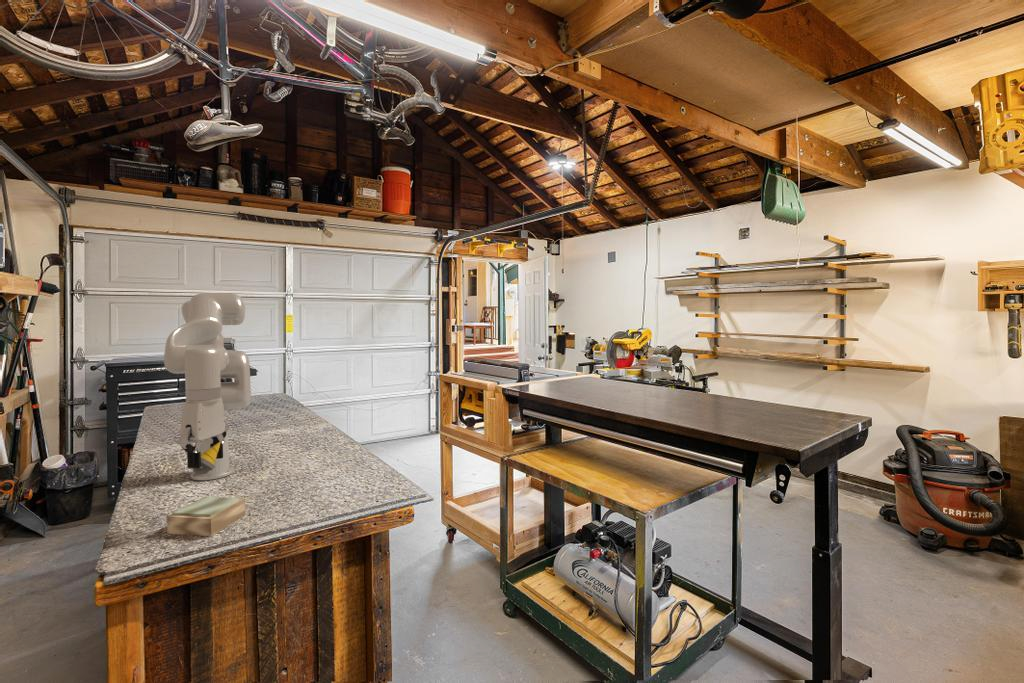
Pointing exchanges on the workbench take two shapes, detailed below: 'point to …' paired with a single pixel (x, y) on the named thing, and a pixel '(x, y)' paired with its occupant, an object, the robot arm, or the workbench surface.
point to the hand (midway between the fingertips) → (206, 462)
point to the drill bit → (207, 460)
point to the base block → (206, 516)
